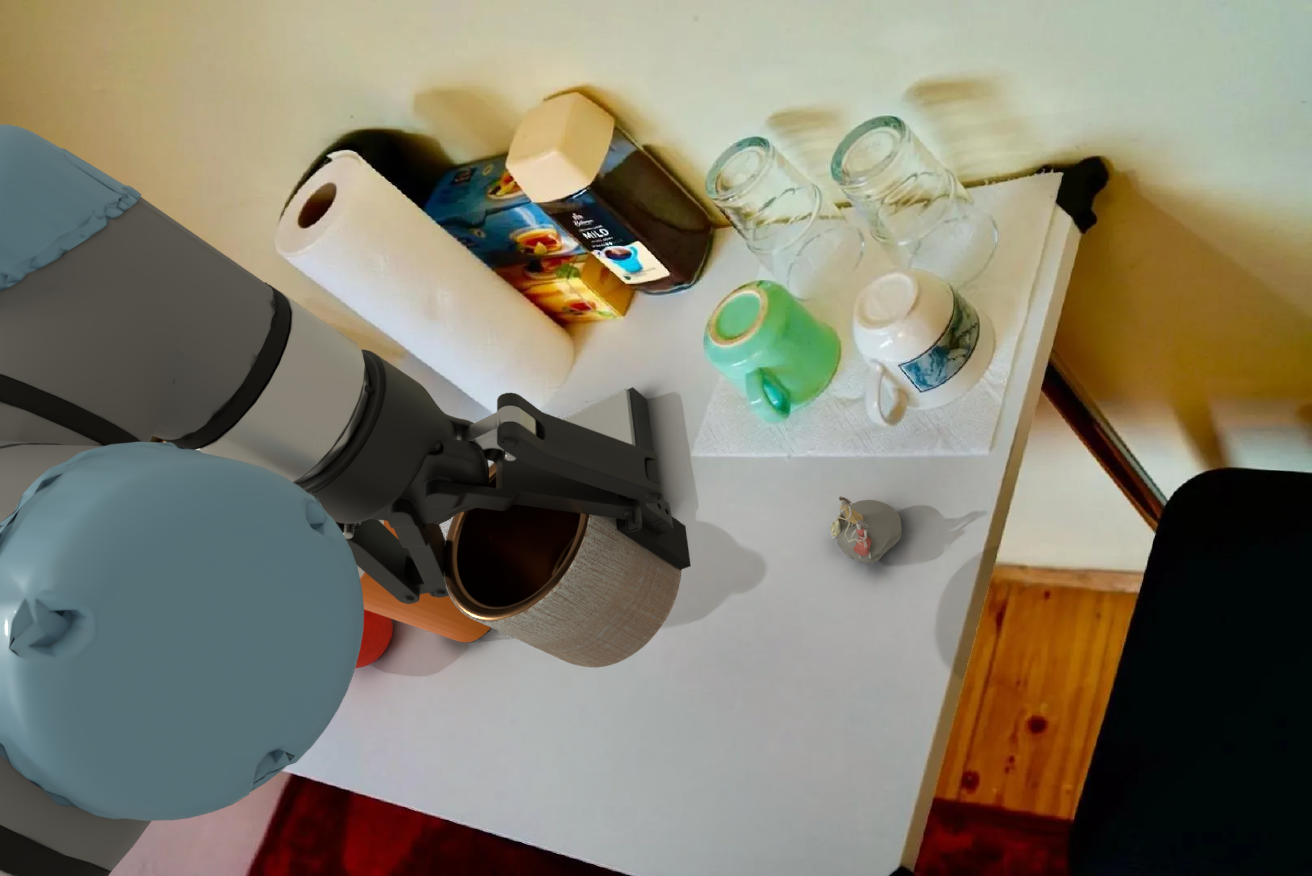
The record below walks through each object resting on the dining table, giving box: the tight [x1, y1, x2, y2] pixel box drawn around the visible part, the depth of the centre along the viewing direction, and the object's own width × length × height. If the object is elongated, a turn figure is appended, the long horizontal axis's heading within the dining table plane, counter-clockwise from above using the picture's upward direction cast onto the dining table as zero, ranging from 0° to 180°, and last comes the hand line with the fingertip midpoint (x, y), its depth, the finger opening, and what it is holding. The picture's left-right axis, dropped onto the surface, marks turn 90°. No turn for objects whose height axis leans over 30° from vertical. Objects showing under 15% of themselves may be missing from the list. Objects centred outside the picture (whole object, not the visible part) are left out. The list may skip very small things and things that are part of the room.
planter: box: [444, 462, 683, 669], centre depth 53 cm, size 11×11×10 cm
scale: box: [563, 386, 654, 452], centre depth 81 cm, size 14×12×3 cm
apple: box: [355, 609, 394, 669], centre depth 87 cm, size 9×9×8 cm
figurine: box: [830, 495, 903, 564], centre depth 62 cm, size 5×4×6 cm
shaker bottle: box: [357, 520, 492, 643], centre depth 77 cm, size 9×9×20 cm
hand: (603, 578), depth 55 cm, fingers closed on planter, 11 cm apart
